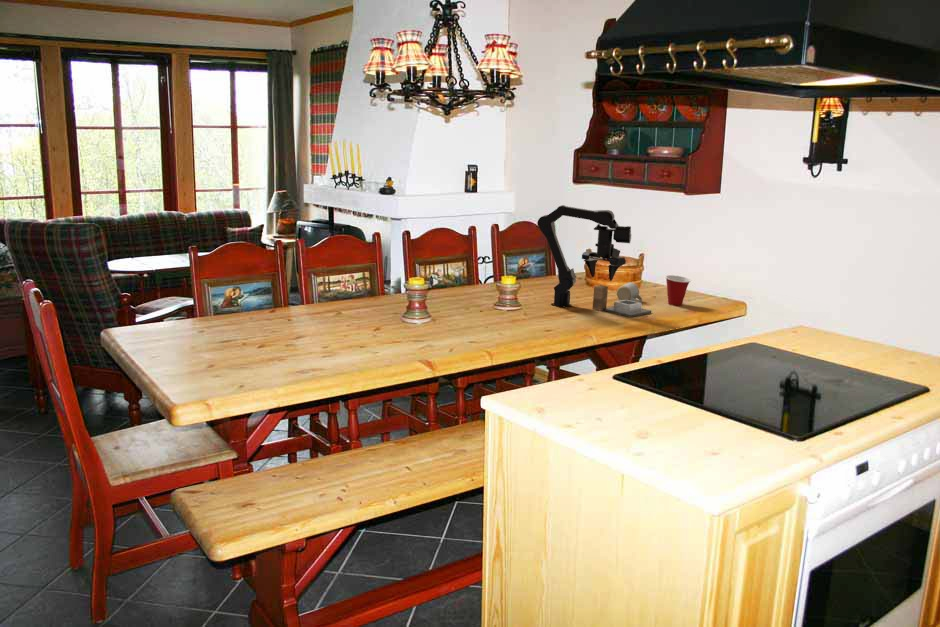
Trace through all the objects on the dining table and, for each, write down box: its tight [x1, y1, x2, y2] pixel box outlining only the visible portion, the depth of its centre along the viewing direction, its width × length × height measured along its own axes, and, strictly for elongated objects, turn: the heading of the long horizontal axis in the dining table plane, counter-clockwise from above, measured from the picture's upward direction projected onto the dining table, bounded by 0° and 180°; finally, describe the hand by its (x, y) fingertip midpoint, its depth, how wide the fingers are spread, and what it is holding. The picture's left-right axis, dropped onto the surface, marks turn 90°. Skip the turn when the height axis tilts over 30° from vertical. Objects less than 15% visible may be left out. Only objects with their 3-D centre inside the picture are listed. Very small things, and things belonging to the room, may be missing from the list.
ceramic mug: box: [616, 282, 643, 303], centre depth 338 cm, size 11×8×8 cm
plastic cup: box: [665, 275, 692, 307], centre depth 334 cm, size 11×11×12 cm
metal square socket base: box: [602, 299, 652, 318], centre depth 318 cm, size 14×14×4 cm
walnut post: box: [592, 284, 609, 312], centre depth 319 cm, size 4×4×10 cm
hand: (601, 278), depth 318 cm, fingers open, 9 cm apart
